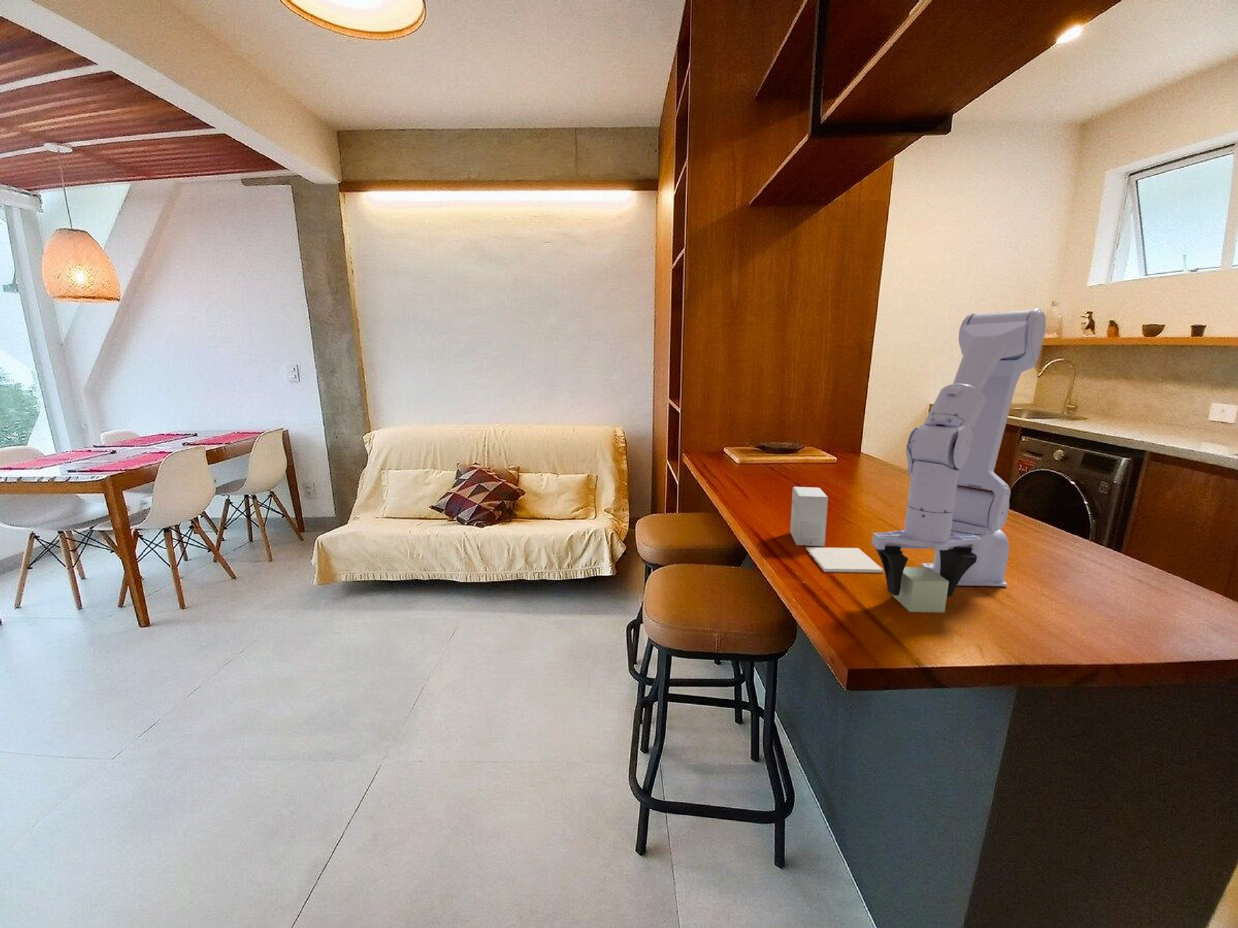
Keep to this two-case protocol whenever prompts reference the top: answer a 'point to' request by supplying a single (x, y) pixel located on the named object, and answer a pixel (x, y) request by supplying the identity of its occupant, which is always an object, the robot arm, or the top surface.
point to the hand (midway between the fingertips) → (918, 593)
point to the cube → (923, 590)
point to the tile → (843, 560)
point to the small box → (808, 516)
